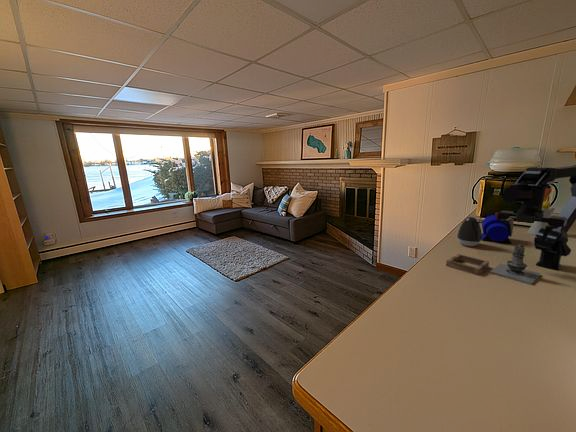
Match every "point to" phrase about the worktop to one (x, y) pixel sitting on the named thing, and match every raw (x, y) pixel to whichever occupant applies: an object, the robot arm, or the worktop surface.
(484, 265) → the walnut holder
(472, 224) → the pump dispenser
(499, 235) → the alarm clock
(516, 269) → the salt shaker
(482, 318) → the worktop surface
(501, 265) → the slate coaster
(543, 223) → the lava lamp
